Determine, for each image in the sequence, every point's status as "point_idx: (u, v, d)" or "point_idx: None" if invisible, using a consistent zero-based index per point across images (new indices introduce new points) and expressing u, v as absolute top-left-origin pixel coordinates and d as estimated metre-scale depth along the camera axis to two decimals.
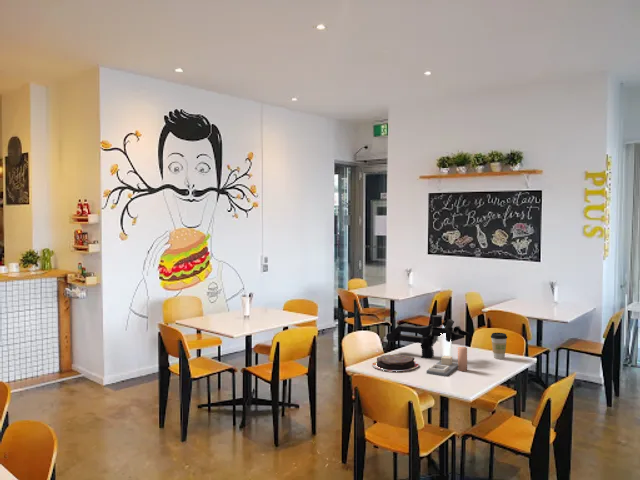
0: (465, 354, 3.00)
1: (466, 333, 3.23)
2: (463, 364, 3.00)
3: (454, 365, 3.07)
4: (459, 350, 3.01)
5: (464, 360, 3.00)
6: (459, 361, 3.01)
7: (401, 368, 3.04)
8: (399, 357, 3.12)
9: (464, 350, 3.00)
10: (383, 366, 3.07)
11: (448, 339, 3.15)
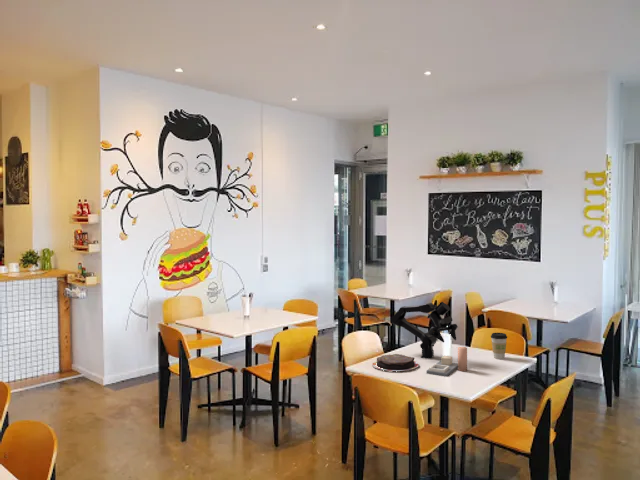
0: (465, 354, 3.00)
1: (454, 337, 3.19)
2: (463, 364, 3.00)
3: (454, 365, 3.07)
4: (459, 350, 3.01)
5: (464, 360, 3.00)
6: (459, 361, 3.01)
7: (401, 368, 3.04)
8: (399, 357, 3.12)
9: (464, 350, 3.00)
10: (383, 366, 3.07)
11: (430, 333, 3.18)
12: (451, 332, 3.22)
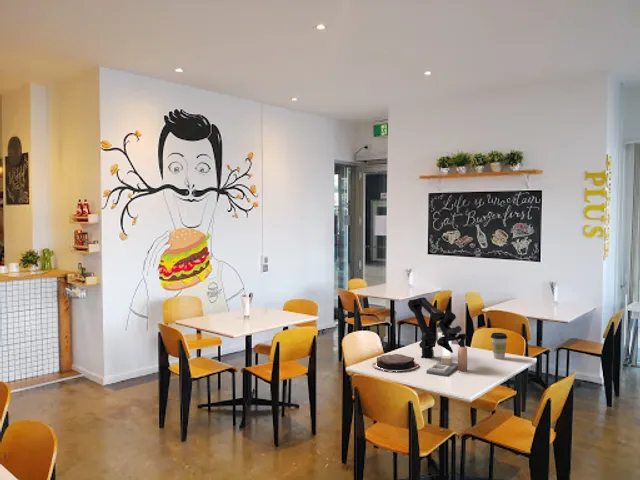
0: (465, 354, 3.00)
1: None
2: (463, 364, 3.00)
3: (454, 365, 3.07)
4: (459, 350, 3.01)
5: (464, 360, 3.00)
6: (459, 361, 3.01)
7: (401, 368, 3.04)
8: (399, 357, 3.12)
9: (464, 350, 3.00)
10: (383, 366, 3.07)
11: (438, 343, 3.07)
12: (460, 342, 3.11)
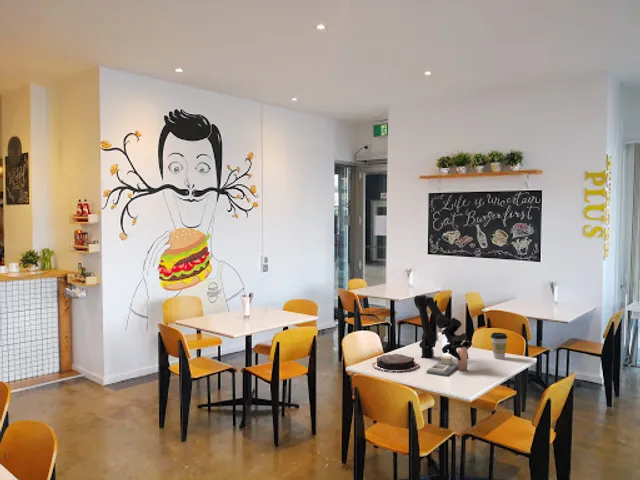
0: (465, 354, 3.00)
1: None
2: (463, 364, 3.00)
3: (454, 365, 3.07)
4: (459, 350, 3.01)
5: (464, 360, 3.00)
6: (459, 361, 3.01)
7: (401, 368, 3.04)
8: (399, 357, 3.12)
9: (464, 350, 3.00)
10: (383, 366, 3.07)
11: (443, 350, 3.03)
12: None
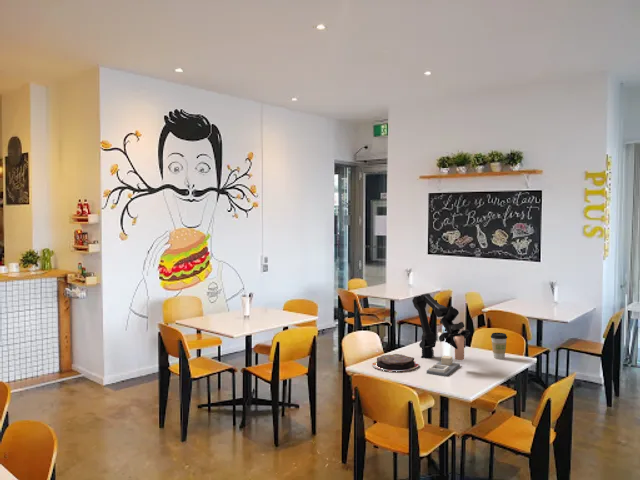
0: (462, 343, 2.99)
1: None
2: (460, 353, 2.99)
3: (454, 365, 3.07)
4: (456, 339, 3.00)
5: (460, 348, 2.99)
6: (456, 350, 3.00)
7: (401, 368, 3.04)
8: (399, 357, 3.12)
9: (461, 339, 2.99)
10: (383, 366, 3.07)
11: (440, 339, 3.03)
12: None
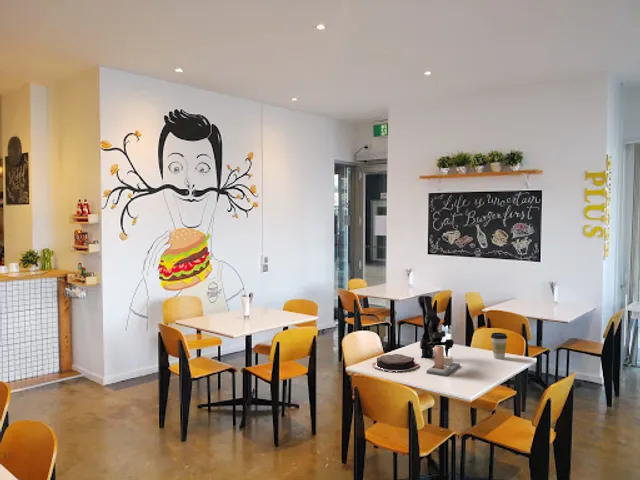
0: (440, 353, 2.97)
1: (446, 354, 2.99)
2: (438, 363, 2.97)
3: (454, 365, 3.07)
4: (434, 349, 2.99)
5: (438, 359, 2.97)
6: (434, 360, 2.99)
7: (401, 368, 3.04)
8: (399, 357, 3.12)
9: (438, 349, 2.97)
10: (383, 366, 3.07)
11: (420, 346, 3.04)
12: (445, 348, 3.02)
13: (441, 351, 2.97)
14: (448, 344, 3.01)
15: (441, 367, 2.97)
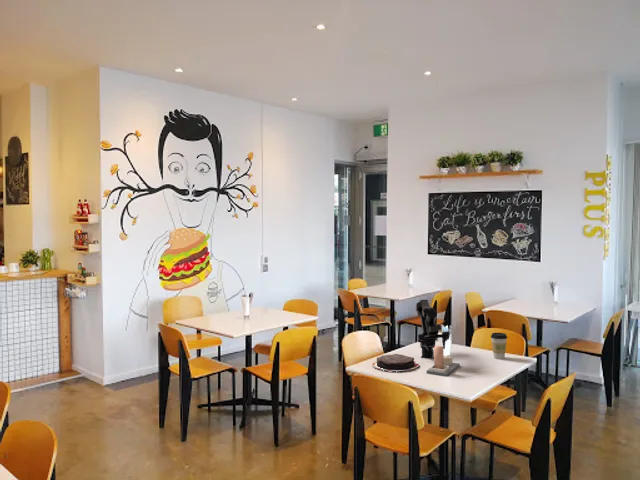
0: (440, 353, 2.97)
1: (443, 346, 3.09)
2: (438, 363, 2.97)
3: (454, 365, 3.07)
4: (434, 349, 2.99)
5: (438, 359, 2.97)
6: (434, 360, 2.99)
7: (401, 368, 3.04)
8: (399, 357, 3.12)
9: (438, 349, 2.97)
10: (383, 366, 3.07)
11: None
12: (442, 340, 3.12)
13: (441, 351, 2.97)
14: (445, 337, 3.10)
15: (441, 367, 2.97)
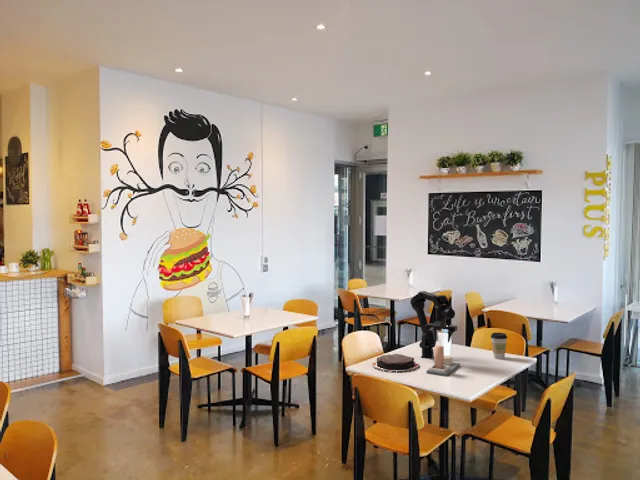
0: (440, 353, 2.97)
1: None
2: (438, 363, 2.97)
3: (454, 365, 3.07)
4: (434, 349, 2.99)
5: (438, 359, 2.97)
6: (434, 360, 2.99)
7: (401, 368, 3.04)
8: (399, 357, 3.12)
9: (439, 349, 2.97)
10: (383, 366, 3.07)
11: None
12: None
13: (441, 351, 2.97)
14: (449, 332, 3.13)
15: (441, 367, 2.97)
